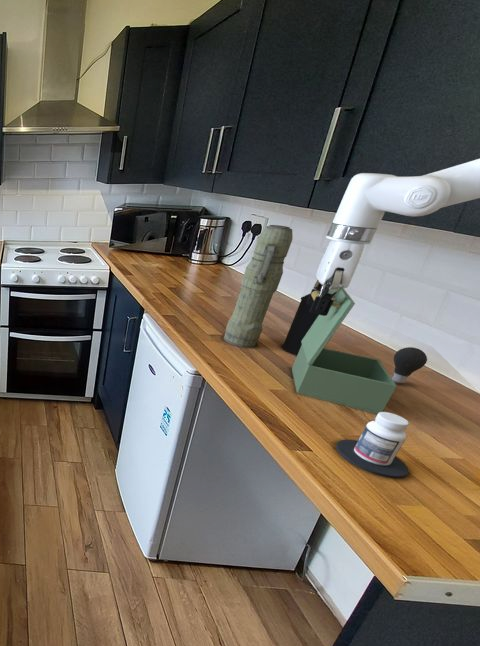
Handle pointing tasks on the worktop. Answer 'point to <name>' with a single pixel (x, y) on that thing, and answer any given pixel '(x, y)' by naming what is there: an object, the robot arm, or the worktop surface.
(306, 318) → the aerosol can
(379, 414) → the pill bottle
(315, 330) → the chest lid
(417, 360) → the light bulb
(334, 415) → the worktop surface
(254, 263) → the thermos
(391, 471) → the coaster
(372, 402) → the chest
